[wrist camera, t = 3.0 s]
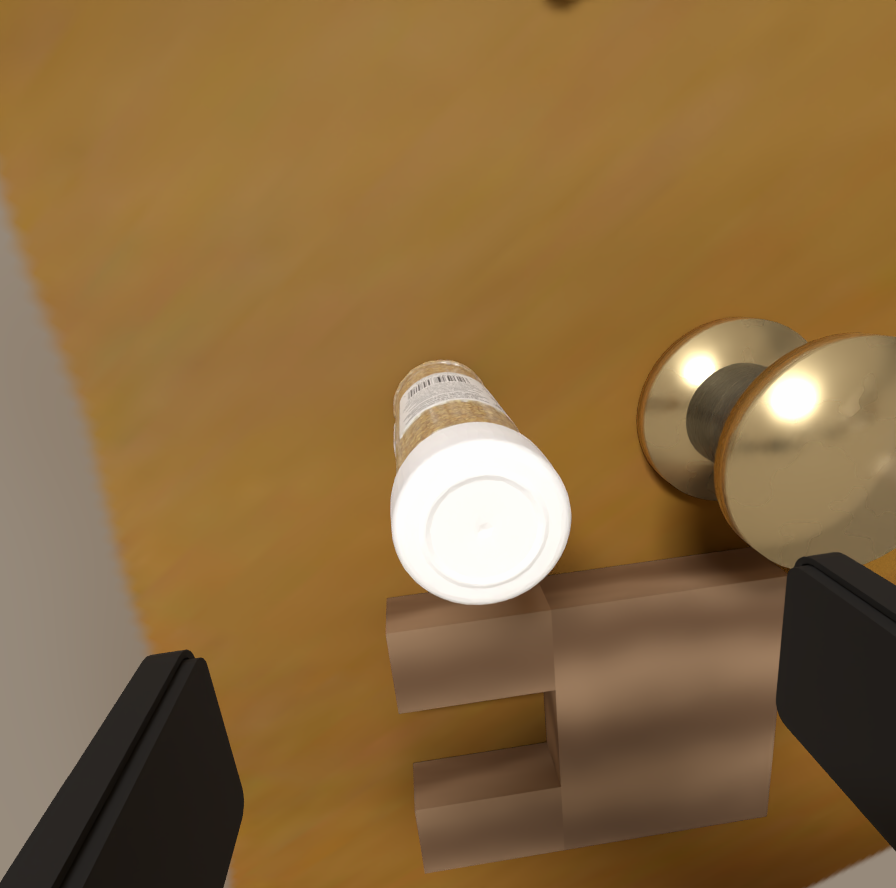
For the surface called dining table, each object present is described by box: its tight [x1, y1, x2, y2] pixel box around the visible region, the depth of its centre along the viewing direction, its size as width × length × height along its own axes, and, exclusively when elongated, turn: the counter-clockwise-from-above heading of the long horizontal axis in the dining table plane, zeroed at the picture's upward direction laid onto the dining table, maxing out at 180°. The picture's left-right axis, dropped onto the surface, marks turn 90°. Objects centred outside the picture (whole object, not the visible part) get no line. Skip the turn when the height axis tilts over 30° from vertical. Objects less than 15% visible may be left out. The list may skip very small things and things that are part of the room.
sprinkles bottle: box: [391, 360, 571, 605], centre depth 20 cm, size 5×5×13 cm
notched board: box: [386, 547, 787, 873], centre depth 31 cm, size 16×20×3 cm
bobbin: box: [637, 317, 896, 569], centre depth 24 cm, size 9×9×8 cm
